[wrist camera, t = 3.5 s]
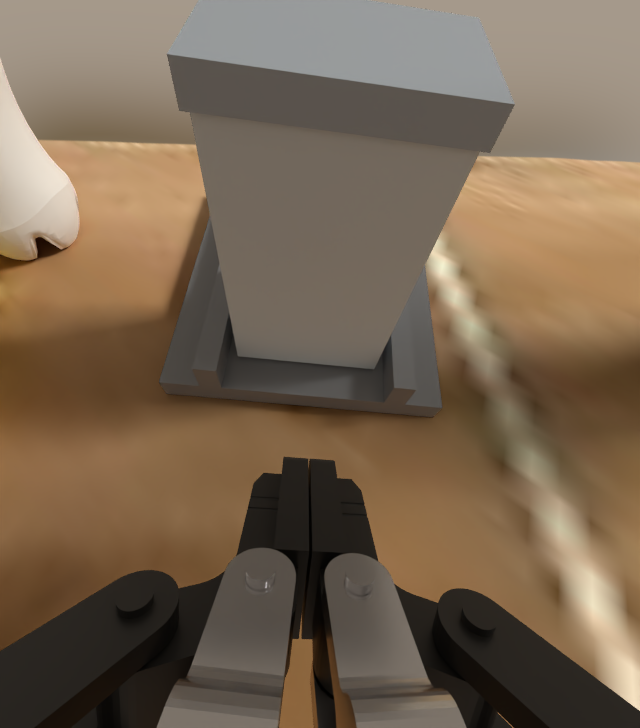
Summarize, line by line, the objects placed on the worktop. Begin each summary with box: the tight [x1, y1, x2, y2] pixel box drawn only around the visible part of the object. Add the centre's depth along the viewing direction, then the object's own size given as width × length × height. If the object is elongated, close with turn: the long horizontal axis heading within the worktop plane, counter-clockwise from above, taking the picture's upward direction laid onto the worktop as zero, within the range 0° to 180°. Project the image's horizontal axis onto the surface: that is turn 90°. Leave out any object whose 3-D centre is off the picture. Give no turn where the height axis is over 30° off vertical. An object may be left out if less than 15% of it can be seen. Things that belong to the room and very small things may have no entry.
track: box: [159, 217, 442, 417], centre depth 24 cm, size 16×18×4 cm
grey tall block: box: [167, 0, 515, 369], centre depth 16 cm, size 8×5×14 cm, turn 87°
